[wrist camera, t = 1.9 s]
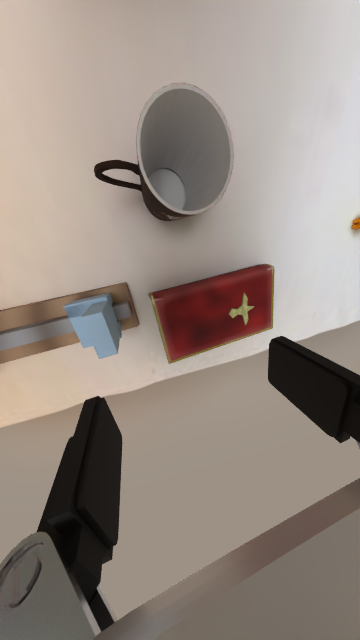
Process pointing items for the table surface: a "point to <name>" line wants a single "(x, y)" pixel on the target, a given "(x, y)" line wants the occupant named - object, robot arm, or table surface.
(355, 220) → the toy figure
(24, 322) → the guide rail
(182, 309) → the hardcover book
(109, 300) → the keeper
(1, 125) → the table surface
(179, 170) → the coffee mug
